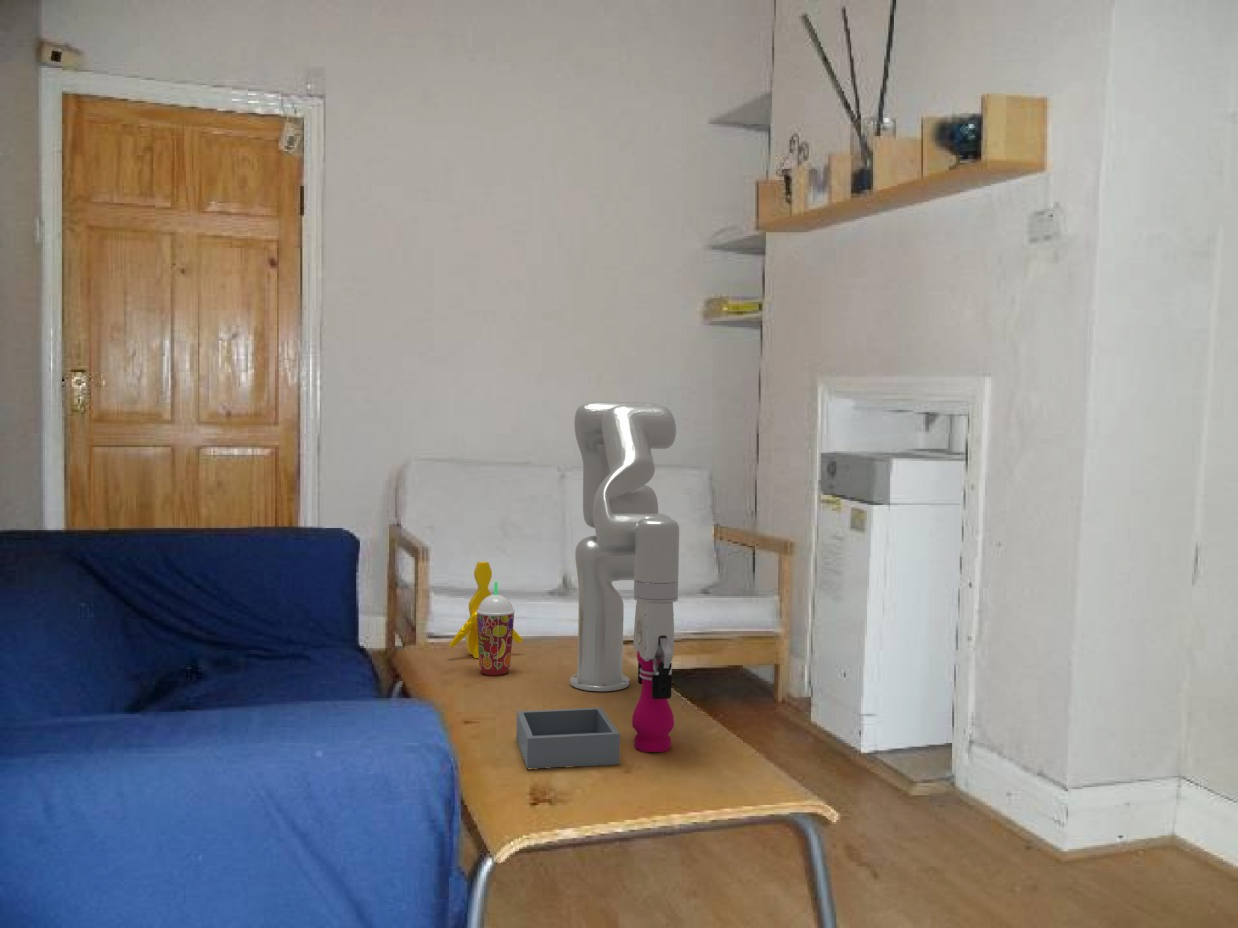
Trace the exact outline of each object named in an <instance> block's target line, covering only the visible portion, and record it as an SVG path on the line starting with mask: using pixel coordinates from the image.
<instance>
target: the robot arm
mask: <svg viewBox="0 0 1238 928" xmlns="http://www.w3.org/2000/svg"><path fill="white" fill-rule="evenodd" d="M574 432H575V438H576V443H577V446H578V449H579V451H580V456H581V459H582V466H583V467H582V468H583V469H582V472H583V473H582V475H583V476H582V513H583V514H582V515H583V519H584V522H585V524H586V525H587V526H588V527H590V528H592V529H594V531H595V535H591V536H587V537H584V538H582V539H581V540H580V541H579V542H578V543H577V545H576V547H575V552H574V553H575V556H574V557H575V559H574V560H575V565H576V566H575V567H576V574H577V582H578V584H577V585H578V587H577V588H578V620H577V621H578V624H577V625H578V626H577V627H578V628H577V629H578V631H577V632H578V633H577V673H576V674H573V675H571V677H570V678H569V684H570V686H572V687H573V688H576V689H578V690H581V691H583V690H584V691H588V692H614V691H620V690H623V689H625V688H627V687H629V686H630V678H629V677H628V676H626V675H625V674H623V659H624V658H623V656H624V655H623V651H624V615H625V614H624V610H625V609H624V608H625V604H624V600H623V598H622V596H621V594H620V593H619V591H618V590H617V589H616V588H615V587H614V585H613V582H618V581H633V600H634V601H636V605H635V615H634V628H633V632H634V633H633V642H632V643H633V644H632V645H633V650H634V652H635V653H636V654H637V652H638V651H639V653H640V657H641V658H642V659H644V660H645V661H649V660H650V659H652V662H653V669H654V675H652V698H653V699H667V700H668V699H669V700H670V699H671V698H672V674H673V669H672V667H673V665H672V664H673V662H672V660H673V657H674V651H675V649H674V648H675V618H674V617H675V615H674V603H675V602H678V601H679V564H680V563H679V562H680V561H679V560H680V527H679V526H680V525H679V524H678V522H677V521H676V520H674V519H672V517H671V516H669V515H666V514H663V513H659V503H658V502H659V501H658V497H657V494H656V492H655V490H654V489H653V488H652V487H650V486H649V485H648V483H649V482H650V481H651V480H652V479H653V477H654V475H655V471H656V470H655V469H656V467H655V466H656V465H655V462H654V459H653V455H652V450H653V449H655V450H656V449H659V450H665V449H669V448H670V447H672V445H673V444H674V442H675V440H676V435H677V424H676V420H675V417H674V415H673V413H672V411H671V410H670V409H669V408H668V407H667V406H666V405H665V406H664V405H661V404H657V403H653V402H629V401H628V402H626V401H603V400H602V401H590V402H586V403H583V404H581V405H579V406H578V408H577V409H576V411H575V415H574ZM651 449H652V450H651ZM658 644H659V646H658ZM671 659H672V660H671ZM637 662H638V661H637ZM657 662H660V663H659V667H658V663H657ZM637 664H638V665H637V683H638V684H639V685H642V678H641V677H640V676H639V675H640V668H642V666H641V665H640V663H639V662H638V663H637Z"/></svg>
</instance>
